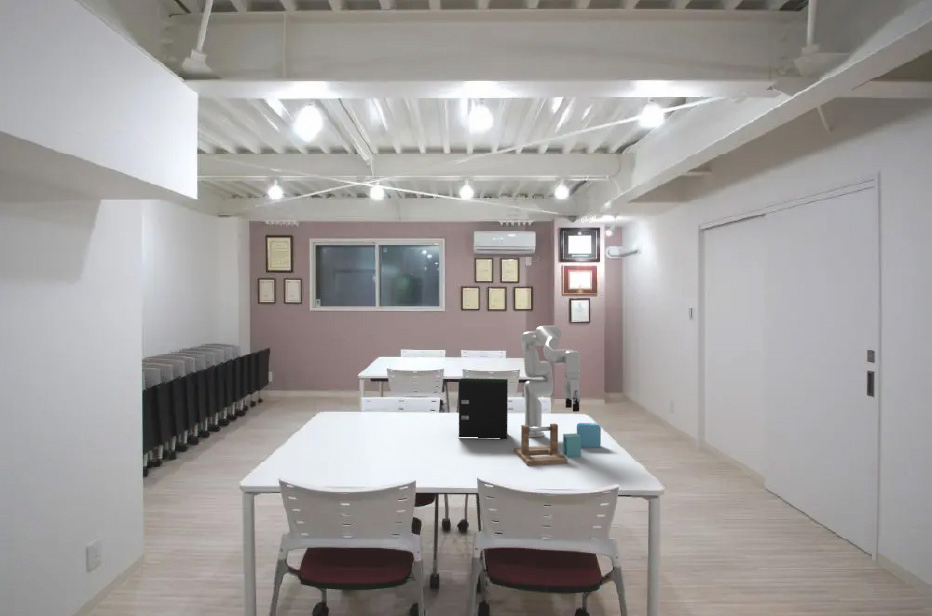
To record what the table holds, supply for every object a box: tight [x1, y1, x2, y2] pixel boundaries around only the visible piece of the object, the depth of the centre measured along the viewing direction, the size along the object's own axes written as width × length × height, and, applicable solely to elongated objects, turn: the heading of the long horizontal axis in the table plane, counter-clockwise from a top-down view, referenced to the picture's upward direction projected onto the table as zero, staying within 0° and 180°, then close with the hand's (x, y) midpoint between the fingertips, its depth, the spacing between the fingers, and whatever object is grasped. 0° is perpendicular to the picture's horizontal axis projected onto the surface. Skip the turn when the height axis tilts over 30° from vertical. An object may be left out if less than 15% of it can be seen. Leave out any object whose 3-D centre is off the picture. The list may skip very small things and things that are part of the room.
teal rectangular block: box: [562, 432, 582, 458], centre depth 270 cm, size 6×7×10 cm
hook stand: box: [513, 423, 568, 466], centre depth 267 cm, size 24×20×16 cm
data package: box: [576, 422, 602, 448], centre depth 287 cm, size 12×4×12 cm, turn 87°
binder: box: [458, 377, 509, 440], centre depth 307 cm, size 27×15×32 cm, turn 85°
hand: (572, 409), depth 270 cm, fingers open, 9 cm apart
